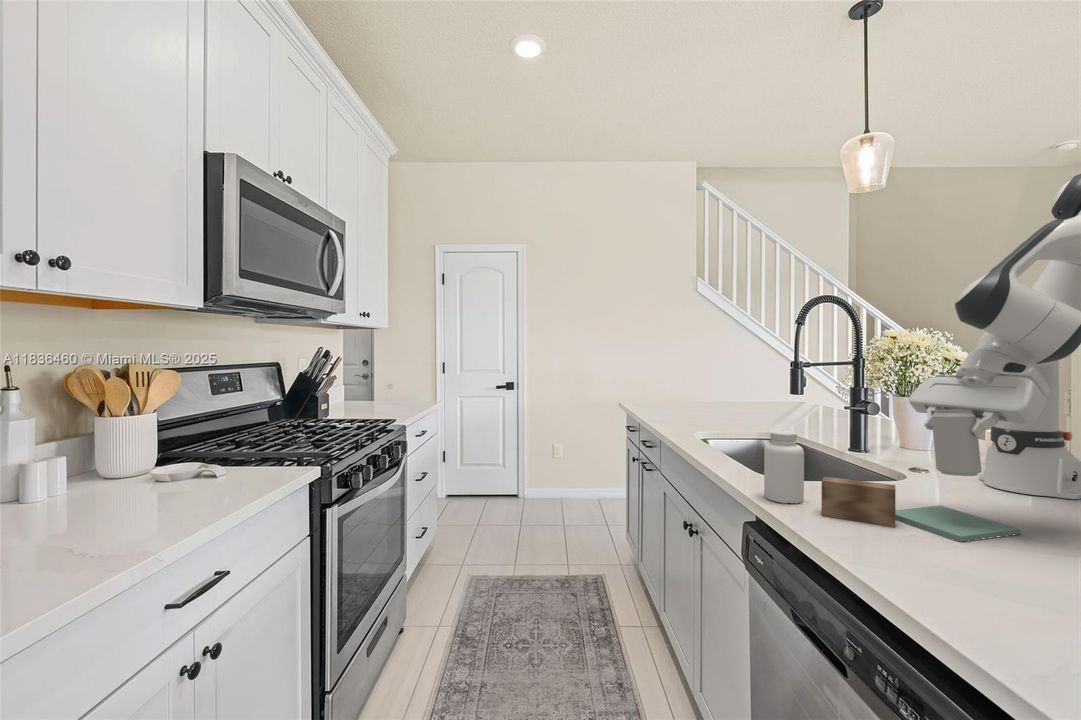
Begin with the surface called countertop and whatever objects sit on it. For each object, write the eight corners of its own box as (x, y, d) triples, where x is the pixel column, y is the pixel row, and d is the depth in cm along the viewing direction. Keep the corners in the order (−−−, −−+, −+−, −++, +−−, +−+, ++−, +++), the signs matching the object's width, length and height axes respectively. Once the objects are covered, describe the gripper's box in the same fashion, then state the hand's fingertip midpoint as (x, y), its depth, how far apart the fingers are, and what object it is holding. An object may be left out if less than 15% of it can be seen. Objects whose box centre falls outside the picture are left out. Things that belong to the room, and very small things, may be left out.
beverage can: (967, 472, 93) (961, 408, 94) (991, 476, 87) (983, 408, 88) (929, 471, 94) (923, 409, 96) (949, 476, 88) (943, 409, 89)
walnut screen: (821, 515, 98) (821, 480, 98) (823, 510, 102) (823, 476, 102) (895, 527, 91) (895, 489, 91) (895, 521, 95) (895, 485, 95)
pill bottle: (768, 503, 107) (768, 434, 106) (761, 493, 114) (760, 428, 114) (808, 505, 105) (808, 435, 105) (798, 495, 113) (798, 429, 112)
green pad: (940, 510, 101) (940, 505, 101) (1021, 534, 87) (1021, 528, 87) (885, 516, 98) (885, 511, 98) (960, 542, 84) (960, 536, 84)
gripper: (922, 364, 104) (887, 413, 101) (1045, 366, 84) (1006, 426, 81) (938, 385, 105) (904, 433, 102) (1062, 391, 85) (1024, 451, 83)
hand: (950, 430), depth 92 cm, fingers closed on beverage can, 6 cm apart
